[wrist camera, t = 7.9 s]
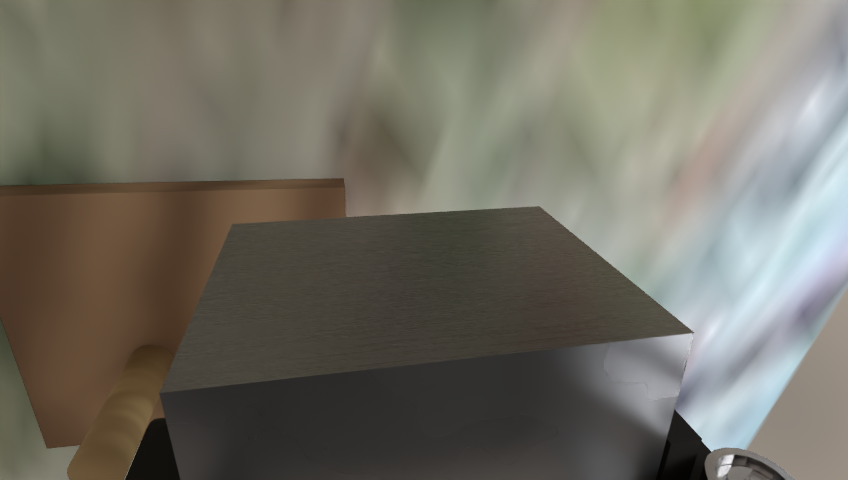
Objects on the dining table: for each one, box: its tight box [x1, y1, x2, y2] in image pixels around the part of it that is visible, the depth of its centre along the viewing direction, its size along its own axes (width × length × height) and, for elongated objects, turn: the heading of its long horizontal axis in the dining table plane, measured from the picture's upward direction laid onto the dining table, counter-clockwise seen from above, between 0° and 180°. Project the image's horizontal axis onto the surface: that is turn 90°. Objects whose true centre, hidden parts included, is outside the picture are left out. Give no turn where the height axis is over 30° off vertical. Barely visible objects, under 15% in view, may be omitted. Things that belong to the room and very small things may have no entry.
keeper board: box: [0, 178, 346, 480], centre depth 23 cm, size 16×14×8 cm
